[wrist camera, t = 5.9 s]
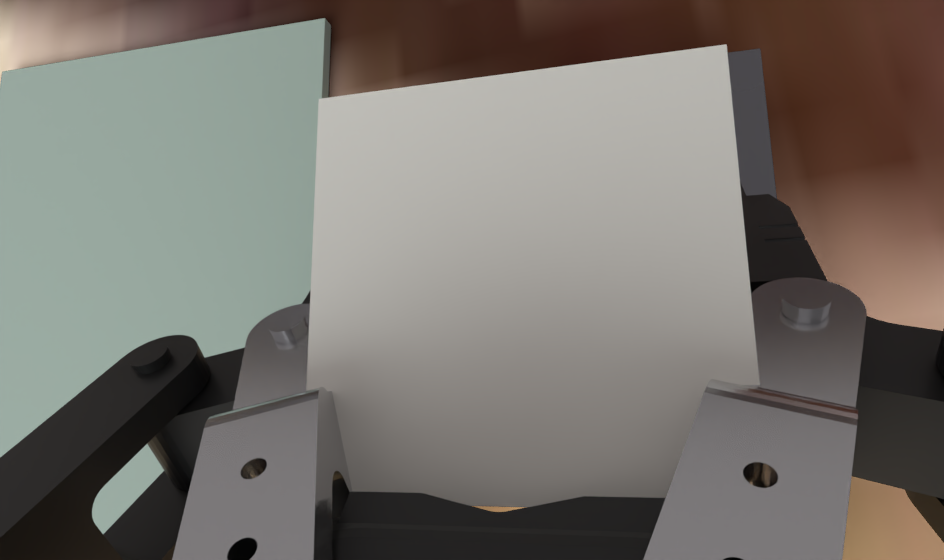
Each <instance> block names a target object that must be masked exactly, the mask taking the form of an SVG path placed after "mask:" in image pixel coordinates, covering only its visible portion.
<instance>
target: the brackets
mask: <svg viewBox="0 0 944 560" xmlns="http://www.w3.org/2000/svg"><path fill="white" fill-rule="evenodd" d="M728 64H729V74H730V84H731V94H732V104H733V115H734V125H735V135H736V145H737V156H738V166H739V176H740V182H741V184H742V187H743V189H744V192H745V194H746V196H749V195H761V194H770V195H771V196H773V197H774V198H776V199H777V196H776V187H775V178H774V169H773V160H772V151H771V142H770V132H769V123H768V114H767V105H766V96H765V87H764V78H763V69H762V60H761V51H760V49H753V50H745V51H738V52H730V53H728Z"/></svg>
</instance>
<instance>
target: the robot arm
mask: <svg viewBox="0 0 944 560" xmlns="http://www.w3.org/2000/svg"><path fill="white" fill-rule="evenodd" d="M740 186H741V197H742V207H743V217H744V227H745V238H746V248H747V258H748V268H749V279H750V289H751V299H752V309H753V320H754V330H755V340H756V350H757V361H758V371H759V381H760V385H738V384H734V383H729V382H724V381H719V380H714V379H711V380H710V381H709V382H708V384H707V386H706V389H705V391H704V394H703V397H702V399H701V402H700V405H699V408H698V410H697V413H696V416H695V419H694V421H693V424H692V427H691V430H690V432H689V435H688V438H687V441H686V443H685V446H684V449H683V452H682V454H681V457H680V460H679V463H678V465H677V468H676V471H675V474H674V476H673V479H672V482H671V485H670V487H669V490H668V493H667V496H666V498H644V497H596V496H583V497H578V498H573V499H568V500H563V501H557V502H552V503H547V504H542V505H537V506H532V507H527V508H522V509H517V510H512V511H507V512H491V511H487V510H483V509H480V508H476V507H472V506H468V505H465V504H461V503H457V502H454V501H450V500H446V499H443V498H439V497H435V496H432V495H428V494H424V493H404V492H356V491H352V487H351V482H350V477H349V472H348V467H347V463H346V458H345V453H344V448H343V443H342V438H341V433H340V428H339V423H338V418H337V413H336V409H335V404H334V399H333V394H332V391H328V392H327V390H326V389H325V388H324V387H319V388H316V389H312V390H308V391H306V385H307V362H308V338H309V314H310V292H309V293H308V295H307V296H306V298H305V299H304V301H303V302H302V304H298V305H293V306H289V307H286V308H283V309H281V310H278V311H276V312H274V313H272V314H270V315H268V316H267V317H265V318H264V319H262V320H261V321H260V322H259V323H257V324H256V325H255V326H254V327H253V329H252V330H251V331H250V333H249V334H248V337H247V340H246V344H245V347H244V348H241V349H237V350H233V351H229V352H225V353H221V354H217V355H213V356H209V357H204V355H203V353H202V352H201V350H200V348H199V346H198V344H197V342H196V341H195V340H194V338H192V337H190V336H186V335H171V336H165V337H161V338H158V339H155V340H152V341H150V342H147V343H145V344H143V345H141V346H139V347H137V348H136V349H134V350H132V351H131V352H129V353H128V354H127V355H125V356H124V357H123V358H121V359H120V360H119V361H118V362H116V363H115V364H114V365H113V366H112V367H110V368H109V369H108V370H107V371H105V372H104V373H103V374H102V375H101V376H99V377H98V378H97V379H96V380H94V381H93V382H92V383H91V384H90V385H88V386H87V387H86V388H85V389H83V390H82V391H81V392H80V393H79V394H77V395H76V396H75V397H74V398H72V399H71V400H70V401H69V402H68V403H66V404H65V405H64V406H63V407H61V408H60V409H59V410H58V411H57V412H55V413H54V414H53V415H52V416H50V417H49V418H48V419H47V420H46V421H44V422H43V423H42V424H41V425H39V426H38V427H37V428H36V429H35V430H33V431H32V432H31V433H30V434H28V435H27V436H26V437H25V438H24V439H22V440H21V441H20V442H19V443H17V444H16V445H15V446H14V447H13V448H11V449H10V450H9V451H8V452H6V453H5V454H4V455H3V456H2V457H0V560H842V557H843V548H844V539H845V530H846V521H847V512H848V503H849V494H850V485H851V476H854V477H858V478H862V479H866V480H870V481H874V482H878V483H882V484H886V485H890V486H894V487H898V488H902V489H905V491H906V493H907V495H908V497H909V499H910V500H911V502H912V503H913V504H914V506H915V507H916V508H917V509H918V511H919V512H920V513H921V514H922V516H923V517H924V518H925V519H926V521H927V522H928V523H929V525H930V526H931V527H932V528H933V530H934V531H935V532H936V533H937V535H938V536H939V537H940V538H941V540H942V541H943V542H944V330H943V331H939V330H932V329H925V328H918V327H911V326H904V325H898V324H892V323H888V322H884V321H880V320H876V319H874V318H871V317H868V316H866V308H865V306H864V304H863V302H862V301H861V300H860V298H859V297H857V296H856V295H855V294H854V293H852V292H851V291H849V290H848V289H846V288H844V287H842V286H840V285H837V284H834V283H832V282H828V281H827V279H826V277H825V275H824V273H823V271H822V269H821V267H820V265H819V264H818V262H817V260H816V258H815V256H814V254H813V252H812V250H811V248H810V246H809V244H808V242H807V240H805V236H804V234H803V233H802V231H801V229H800V227H798V223H797V221H796V219H795V217H794V215H793V213H792V211H791V209H790V207H789V206H787V205H785V204H784V203H782V202H781V201H779V200H778V199H776V198H774V197H773V196H771V195H770V194H761V195H749V196H746V194H745V192H744V189H743V187H742V184H741V182H740ZM310 291H311V290H310ZM146 444H148V446H149V448H150V449H151V451H152V452H153V454H154V455H155V457H156V458H157V460H158V462H159V463H160V465H161V466H162V468H163V469H164V471H163V472H162V473H161V474H160V475H159V476H158V478H157V479H156V480H155V481H154V482H153V483H152V484H151V485H150V486H149V487H148V488H147V489H146V490H145V491H144V492H143V493H142V494H141V495H140V496H139V497H138V498H137V499H136V501H135V502H134V503H133V504H132V505H131V506H130V507H129V508H128V509H127V510H126V511H125V512H124V513H123V514H122V515H121V516H120V517H119V518H118V519H117V520H116V521H115V523H114V524H113V525H112V526H111V527H110V528H109V529H108V530H107V531H106V532H105V533H104V534H102V532H101V531H100V530H99V529H98V527H97V526H96V525H95V523H94V521H93V518H92V508H93V503H94V501H95V498H96V496H97V494H98V493H99V491H100V490H101V489H102V488H103V487H104V485H105V484H106V483H108V482H109V481H110V480H111V479H112V478H113V477H114V476H115V475H116V474H117V473H118V472H119V471H120V470H121V469H122V468H123V467H124V466H125V465H126V464H127V463H128V462H129V461H130V460H131V459H132V458H133V457H134V456H135V455H136V454H137V453H138V452H139V451H140V450H141V449H142V448H143V447H144V446H145V445H146Z"/></svg>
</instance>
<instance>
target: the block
mask: <svg viewBox="0 0 944 560" xmlns="http://www.w3.org/2000/svg"><path fill="white" fill-rule="evenodd" d="M711 379H714V380H719V381H724V382H729V383H734V384H738V385H760V381H759V371H758V361H757V350H756V340H755V330H754V320H753V309H752V299H751V289H750V279H749V268H748V258H747V248H746V238H745V227H744V217H743V207H742V197H741V186H740V176H739V166H738V156H737V145H736V135H735V125H734V115H733V104H732V94H731V84H730V74H729V64H728V53H727V44H725V45H718V46H711V47H703V48H696V49H688V50H681V51H673V52H666V53H658V54H651V55H643V56H636V57H628V58H621V59H613V60H606V61H598V62H591V63H583V64H576V65H568V66H561V67H553V68H546V69H538V70H531V71H524V72H516V73H509V74H501V75H494V76H486V77H479V78H471V79H464V80H456V81H449V82H441V83H434V84H426V85H419V86H411V87H404V88H396V89H389V90H381V91H374V92H366V93H359V94H351V95H344V96H337V97H329V98H322V99H319V102H318V126H317V149H316V173H315V197H314V220H313V244H312V267H311V291H310V314H309V338H308V362H307V385H306V391H308V390H312V389H316V388H319V387H324V388H325V389H326V390H327V392H328V391H332V394H333V399H334V404H335V409H336V413H337V418H338V423H339V428H340V433H341V438H342V443H343V448H344V453H345V458H346V463H347V467H348V472H349V477H350V482H351V487H352V491H356V492H404V493H424V494H428V495H432V496H435V497H439V498H443V499H446V500H450V501H454V502H457V503H461V504H465V505H468V506H499V507H532V506H537V505H542V504H547V503H552V502H557V501H563V500H568V499H573V498H578V497H583V496H596V497H644V498H666V496H667V493H668V490H669V487H670V485H671V482H672V479H673V476H674V474H675V471H676V468H677V465H678V463H679V460H680V457H681V454H682V452H683V449H684V446H685V443H686V441H687V438H688V435H689V432H690V430H691V427H692V424H693V421H694V419H695V416H696V413H697V410H698V408H699V405H700V402H701V399H702V397H703V394H704V391H705V389H706V386H707V384H708V382H709V381H710V380H711Z"/></svg>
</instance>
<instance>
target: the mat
mask: <svg viewBox="0 0 944 560" xmlns="http://www.w3.org/2000/svg"><path fill="white" fill-rule="evenodd" d="M330 41H331V25H330V24H329V22H328V21H327V20H326V19H325V18H323V19H317V20H311V21H305V22H299V23H293V24H287V25H281V26H275V27H269V28H263V29H257V30H250V31H244V32H238V33H232V34H226V35H220V36H214V37H208V38H202V39H196V40H190V41H184V42H178V43H172V44H166V45H160V46H154V47H148V48H142V49H136V50H130V51H124V52H118V53H112V54H106V55H100V56H94V57H88V58H82V59H76V60H70V61H64V62H58V63H52V64H46V65H40V66H34V67H28V68H22V69H16V70H10V71H4V72H2V78H1V84H0V457H2V456H3V455H4V454H5V453H6V452H8V451H9V450H10V449H11V448H13V447H14V446H15V445H16V444H17V443H19V442H20V441H21V440H22V439H24V438H25V437H26V436H27V435H28V434H30V433H31V432H32V431H33V430H35V429H36V428H37V427H38V426H39V425H41V424H42V423H43V422H44V421H46V420H47V419H48V418H49V417H50V416H52V415H53V414H54V413H55V412H57V411H58V410H59V409H60V408H61V407H63V406H64V405H65V404H66V403H68V402H69V401H70V400H71V399H72V398H74V397H75V396H76V395H77V394H79V393H80V392H81V391H82V390H83V389H85V388H86V387H87V386H88V385H90V384H91V383H92V382H93V381H94V380H96V379H97V378H98V377H99V376H101V375H102V374H103V373H104V372H105V371H107V370H108V369H109V368H110V367H112V366H113V365H114V364H115V363H116V362H118V361H119V360H120V359H121V358H123V357H124V356H125V355H127V354H128V353H129V352H131V351H132V350H134V349H136V348H137V347H139V346H141V345H143V344H145V343H147V342H150V341H152V340H155V339H158V338H161V337H165V336H171V335H186V336H190V337H192V338H194V340H195V341H196V342H197V344H198V346H199V348H200V350H201V352H202V353H203V355H204V357H209V356H213V355H217V354H221V353H225V352H229V351H233V350H237V349H241V348H244V347H245V344H246V340H247V337H248V334H249V333H250V331H251V330H252V329H253V327H254V326H255V325H256V324H257V323H259V322H260V321H261V320H262V319H264V318H265V317H267V316H268V315H270V314H272V313H274V312H276V311H278V310H281V309H283V308H286V307H289V306H293V305H298V304H302V302H303V301H304V299H305V298H306V296H307V295H308V293H309V292H310V290H311V267H312V244H313V220H314V197H315V173H316V149H317V126H318V102H319V99H322V98H328V93H329V67H330ZM163 471H164V469H163V468H162V466H161V465H160V463H159V462H158V460H157V458H156V457H155V455H154V454H153V452H152V451H151V449H150V448H149V446H148V444H146V445H145V446H144V447H143V448H142V449H141V450H140V451H139V452H138V453H137V454H136V455H135V456H134V457H133V458H132V459H131V460H130V461H129V462H128V463H127V464H126V465H125V466H124V467H123V468H122V469H121V470H120V471H119V472H118V473H117V474H116V475H115V476H114V477H113V478H112V479H111V480H110V481H109V482H108V483H106V484H105V485H104V487H103V488H102V489H101V490H100V491H99V493H98V494H97V496H96V498H95V501H94V503H93V508H92V518H93V521H94V523H95V525H96V526H97V527H98V529H99V530H100V531H101V532H102V534H104V533H105V532H106V531H107V530H108V529H109V528H110V527H111V526H112V525H113V524H114V523H115V521H116V520H117V519H118V518H119V517H120V516H121V515H122V514H123V513H124V512H125V511H126V510H127V509H128V508H129V507H130V506H131V505H132V504H133V503H134V502H135V501H136V499H137V498H138V497H139V496H140V495H141V494H142V493H143V492H144V491H145V490H146V489H147V488H148V487H149V486H150V485H151V484H152V483H153V482H154V481H155V480H156V479H157V478H158V476H159V475H160V474H161V473H162V472H163Z"/></svg>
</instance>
